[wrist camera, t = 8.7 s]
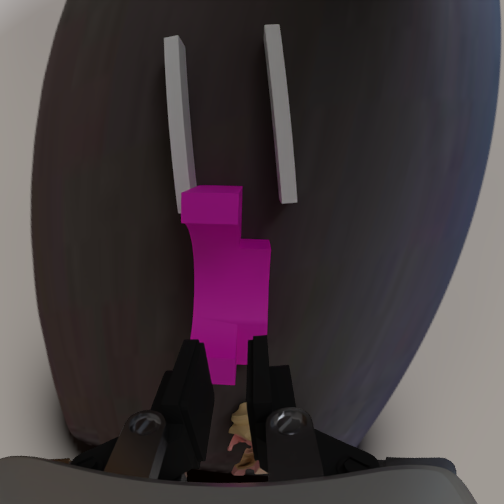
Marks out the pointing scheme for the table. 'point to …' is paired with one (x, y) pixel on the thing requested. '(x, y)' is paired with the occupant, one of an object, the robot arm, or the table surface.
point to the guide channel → (182, 123)
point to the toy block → (225, 278)
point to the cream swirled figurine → (243, 435)
